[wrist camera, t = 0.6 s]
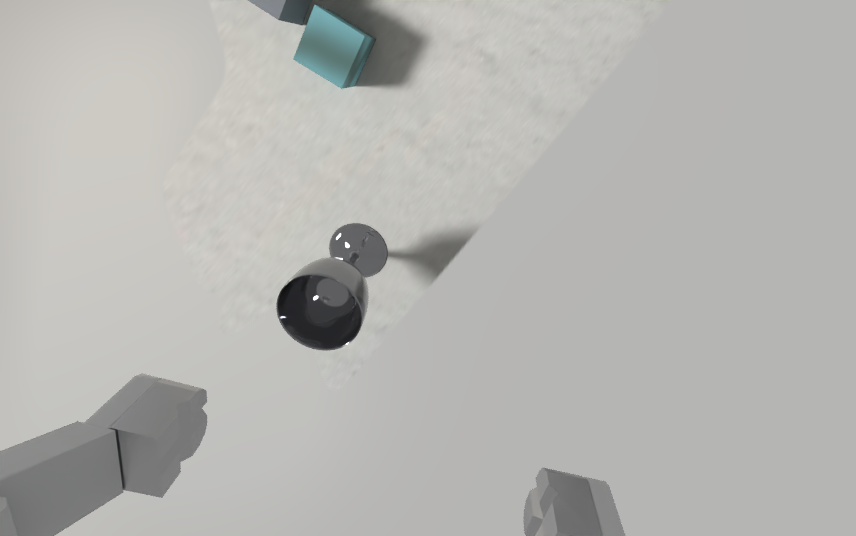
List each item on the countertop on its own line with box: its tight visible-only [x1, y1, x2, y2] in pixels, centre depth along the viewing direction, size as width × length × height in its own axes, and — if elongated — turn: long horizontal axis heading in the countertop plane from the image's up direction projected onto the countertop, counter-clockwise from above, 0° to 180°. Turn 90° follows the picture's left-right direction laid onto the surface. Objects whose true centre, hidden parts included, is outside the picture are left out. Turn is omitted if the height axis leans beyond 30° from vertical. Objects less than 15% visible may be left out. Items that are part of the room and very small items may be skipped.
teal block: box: [294, 5, 376, 89], centre depth 43 cm, size 5×5×5 cm
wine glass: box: [277, 223, 387, 350], centre depth 47 cm, size 8×8×15 cm
